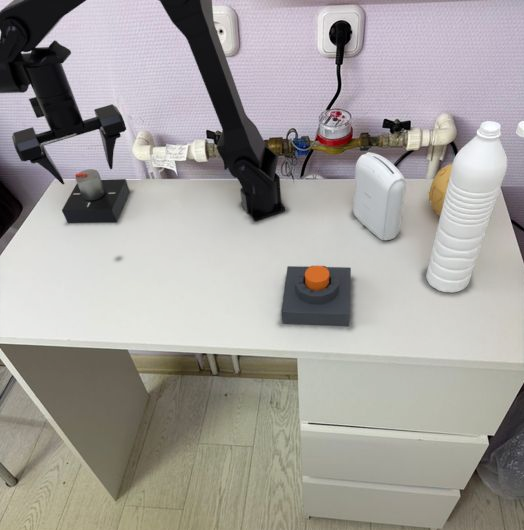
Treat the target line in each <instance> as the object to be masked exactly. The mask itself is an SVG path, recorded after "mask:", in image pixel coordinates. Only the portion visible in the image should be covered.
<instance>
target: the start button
mask: <svg viewBox="0 0 524 530" xmlns="http://www.w3.org/2000/svg"><path fill="white" fill-rule="evenodd" d="M311 266H312V267H310V266H309V267H310V268H308V269H307V270H306V272H305V284H306V286H307V287H308V288H309V289H311V290H322V289H325V288H326V287H327V286H328V285H329V271H328V269H327V268H325V267H323V266H324V265H311Z"/></svg>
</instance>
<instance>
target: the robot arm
mask: <svg viewBox="0 0 524 530" xmlns="http://www.w3.org/2000/svg"><path fill="white" fill-rule="evenodd" d="M86 1H87V0H11V2H9V4H7V5H6V6H5V7H3V8H2V9H1V10H0V94H24V93H27V91H28V90H29V87H30V86H31V89H32V91H33V93H34V95H35V96H33V97H31V98H28V101H29V103H30V105H31V108H32V110H33V113H34V115H35V117H36V118H37V119H39V118H43V117H44V118H45V120H46V123H47V125H48V128H49V130H47V131H43V132H40V133H37V132H36V130H35V129H34V127H33V126H31V127H29V128H25V129H22V130H18V131H14V132H13V133H12V136H11V139H12V143H13V147H14V149H15V151H16V153H17V155H18V158H19V159H20V161H21V162H27V161H28V162H30V163H31V164H33V165H34V164H38V165H39V166H41V167H42V168H44V169H45V170H46V171H47V172H49V173H50V174H51V175H52V176H53V177H54V178H55V179H56V180H57V181H58V182H59V183H60V184H61V185H65V184H66V183H65V181H64V179H63V176H62V174H61V173H60V171H59V169H58V168H57V166H56V164H55V163H54V161H53V159H52V158H51V156H50V155H49V152H48V151H47V149H46V147H45V146H47V145H49V144H53V143H57V142H60V141H63V140H67V139H70V138H74V137H77V136H81V135H84V134H88V133H90V132H94V131H97V130H98V131H99V134H100V138H101V142H102V147H103V152H104V155H105V160H106V162H107V165H108V168H109V170H113V166H114V153H115V152H114V151H115V147H116V141H117V139H119V138H121V137H122V135H121V133H124V132H125V131H127V125H126V123H125V120H124V116H123V115H122V113H121V112H120V110H119V109H118V107H117V106H116V105H114V104H112V103H111V104H108V105H105V106H102V107H101V106H100V107H98V108H94V110H93V111H94V115H95V117H90V118H87V119H83V117H82V114H81V112H80V109H79V105H78V104H77V101H76V98H75V96H74V93H73V90H72V87H71V85H70V82H69V79H68V77H67V74H66V72H65V69H64V66H63V64H64V63H65V62H66V60H67V59H68V58H69V57H70V56H71V55H72V51H71V49H69V48H67V47H66V46H64V45H62V44H60V43H59V42H58V41H57V40H55V39H54V40H53V41H52V42H51V43H50V44H49V45H48V46H41V47H37V46H39V45H40V44H41V43H42V42H43V40H45V39H46V37H48V36H49V34H51V32H52V31H53V30H54V29H55V28H56V27H57V25H58V24H59V23H60V22H61V20H62V19H63V18H64V17H65V16H66V15H68V14H69V13H71V12H72V11H74V10H75V9H76V8H78V7H79V6H80V5H82V4H84V3H85V2H86ZM158 1H159V2H160V4H161V6H162V7H163V9H164V11H165V13H166V14H167V15H168V18H169V19H170V22H172V24H173V25H174V26H175V27H176V28H177V29H178V31H179V32H180V33H181V34H182V35H183V36H184V38H185V39H186V41H187V44H188V46H189V48H190V51H191V53H192V55H193V58H194V61H195V63H196V67H197V69H198V71H199V73H200V76H201V78H202V81H203V85H204V86H205V89H206V91H207V94H208V96H209V99H210V101H211V104H212V106H213V109H214V112H215V114H216V117H217V119H218V122H219V124H220V127H221V130H222V131H221V134H220V136H219V139H218V143H217V146H216V150H217V153H218V155H219V156H220V158H221V159H222V162H223V170H225V171H226V170H227V169H228V172H229V173H230V175H231V176H232V177H233V178H234V179H237V180H238V182H239V184H240V186H241V187H240V189H239V190H240V197H241V206H242V208H243V210H244V211H245V213H246V214H247V215H249V216H250V217H251V219H252V220H253V221H254V222H257V221H260V220H264V219H266V218H269V217H272V216H275V215H279V214H280V213H283V212H285V211H286V206H285V205H284V204H283V203H282V193H281V177H280V175H279V174H278V173H277V166H278V160H279V155H278V154H277V153H276V152H275V151H274V150H273V149H271V148H270V147H269V146H268V145H266V142H265V140H264V138H263V136H262V135H261V133H260V131H259V129H258V127H257V126H256V125H255V123H254V122H253V121H252V120H251V119H250V118H249V116H248V115H247V114H246V111H245V108H244V105H243V102H242V100H241V96H240V94H239V91H238V88H237V86H236V85H237V84H236V82H235V79H234V77H233V74H232V70H231V68H230V64H229V62H228V59H227V57H226V54H225V51H224V48H223V45H222V42H221V39H220V37H219V34H218V30H217V28H216V25H215V20H214V10H213V0H158ZM22 52H23V53H22Z"/></svg>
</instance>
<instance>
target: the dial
mask: <svg viewBox="0 0 524 530" xmlns="http://www.w3.org/2000/svg"><path fill="white" fill-rule="evenodd" d="M74 176H75V182H76V184H78V186H79V189H80V191H81V193H82V196H83V198H84V199H86V200H90V201H92V200H97V199H99V198H101V197H103V196H104V194H105V188H104V186H103V183H102V180H103V179H102V178H101V175H100V173H99V171H98V170H96V169H93V168H89V169H84V170H82V171H79V172H78V173H75V175H74Z"/></svg>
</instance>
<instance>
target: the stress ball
mask: <svg viewBox="0 0 524 530" xmlns="http://www.w3.org/2000/svg"><path fill="white" fill-rule="evenodd" d="M452 164H453V162H451V163H449V164H447V165H444V166H443V167H442V168H440V169H439V170H438V172H437V173H436V174H435V176H434V178H433V179H432V182H431V184H430V188H429V191H428V195H427V196H428V201H429V202H430V205H431V208H432V211H433V212H434V213H436V215H438V216H439V217H440V215H441V212H442V208H443V204H444V199H445V195H446V191H447V187H448V183H449V178H450V174H451V169H452Z"/></svg>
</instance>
